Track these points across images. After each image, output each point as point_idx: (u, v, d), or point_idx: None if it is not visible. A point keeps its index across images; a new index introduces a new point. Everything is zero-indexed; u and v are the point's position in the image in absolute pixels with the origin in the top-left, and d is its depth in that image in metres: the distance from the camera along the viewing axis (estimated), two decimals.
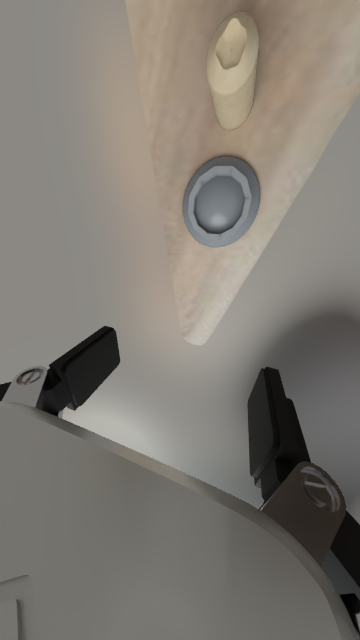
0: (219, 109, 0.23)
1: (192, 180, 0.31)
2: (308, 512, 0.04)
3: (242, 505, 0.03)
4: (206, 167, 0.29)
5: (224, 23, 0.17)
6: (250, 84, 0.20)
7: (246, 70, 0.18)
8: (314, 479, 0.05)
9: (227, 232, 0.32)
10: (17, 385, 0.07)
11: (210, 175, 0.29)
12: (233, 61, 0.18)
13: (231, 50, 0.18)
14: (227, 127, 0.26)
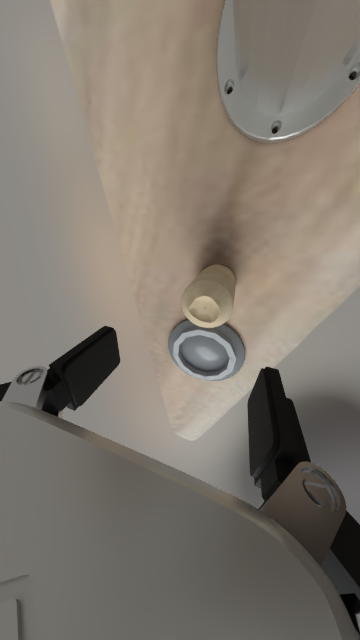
0: None
1: (176, 328, 0.30)
2: (308, 512, 0.04)
3: (242, 505, 0.03)
4: (190, 323, 0.29)
5: (197, 288, 0.17)
6: None
7: (221, 322, 0.18)
8: (314, 479, 0.05)
9: (213, 377, 0.31)
10: (17, 385, 0.07)
11: (194, 334, 0.28)
12: (208, 314, 0.17)
13: (205, 307, 0.17)
14: None
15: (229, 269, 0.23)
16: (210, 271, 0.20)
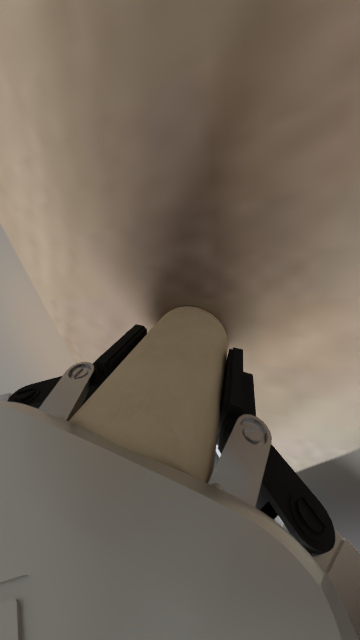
0: None
1: None
2: (239, 445, 0.06)
3: (242, 505, 0.03)
4: None
5: None
6: None
7: None
8: (249, 426, 0.06)
9: None
10: (70, 379, 0.07)
11: None
12: None
13: None
14: None
15: (214, 319, 0.11)
16: (160, 344, 0.08)
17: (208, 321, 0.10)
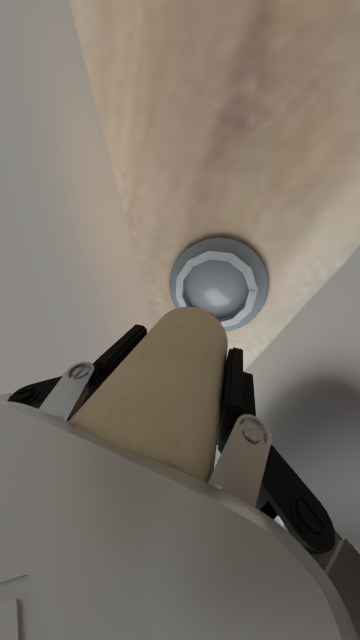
0: None
1: (180, 259, 0.24)
2: (239, 445, 0.06)
3: (242, 505, 0.03)
4: (198, 247, 0.22)
5: None
6: None
7: None
8: (249, 426, 0.06)
9: (226, 322, 0.25)
10: (70, 379, 0.07)
11: (203, 260, 0.22)
12: None
13: None
14: None
15: (214, 319, 0.11)
16: (159, 345, 0.08)
17: (208, 321, 0.10)
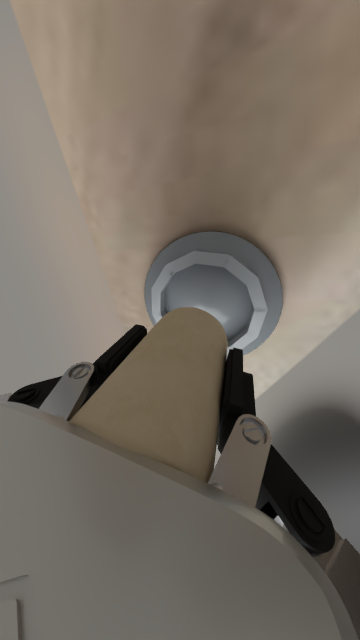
0: None
1: (156, 262, 0.17)
2: (239, 445, 0.06)
3: (242, 505, 0.03)
4: (180, 245, 0.15)
5: None
6: None
7: None
8: (249, 426, 0.06)
9: None
10: (70, 379, 0.07)
11: (186, 265, 0.15)
12: None
13: None
14: None
15: (214, 319, 0.11)
16: (159, 346, 0.08)
17: (208, 322, 0.10)
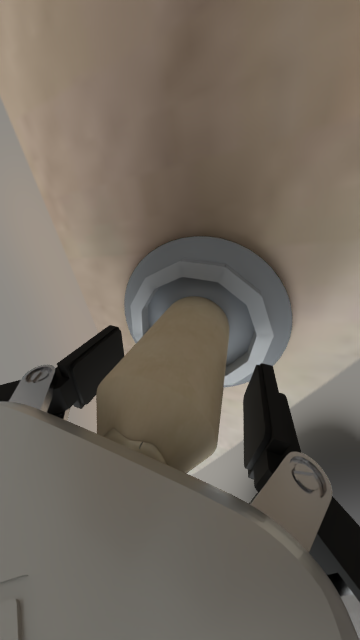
0: None
1: (136, 274, 0.14)
2: (295, 497, 0.05)
3: (242, 505, 0.03)
4: (164, 253, 0.12)
5: (115, 399, 0.06)
6: None
7: None
8: (302, 468, 0.05)
9: None
10: (26, 383, 0.07)
11: (171, 278, 0.12)
12: (153, 452, 0.07)
13: None
14: None
15: (217, 307, 0.12)
16: (172, 324, 0.09)
17: (212, 308, 0.12)
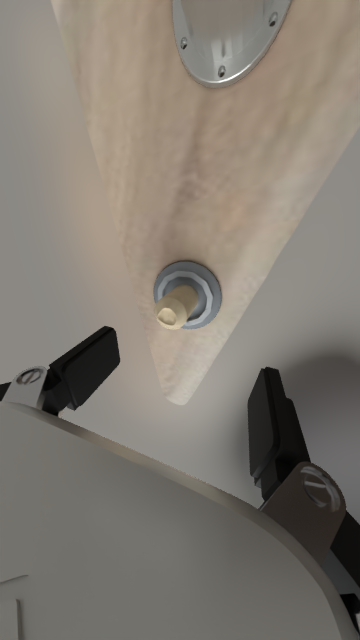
0: None
1: (160, 276, 0.33)
2: (308, 512, 0.04)
3: (242, 505, 0.03)
4: (171, 267, 0.32)
5: (162, 303, 0.25)
6: (187, 318, 0.28)
7: (180, 324, 0.26)
8: (314, 479, 0.05)
9: (194, 321, 0.34)
10: (17, 385, 0.07)
11: (174, 277, 0.31)
12: (171, 320, 0.26)
13: (169, 315, 0.26)
14: None
15: (192, 287, 0.32)
16: (175, 290, 0.28)
17: (190, 287, 0.31)
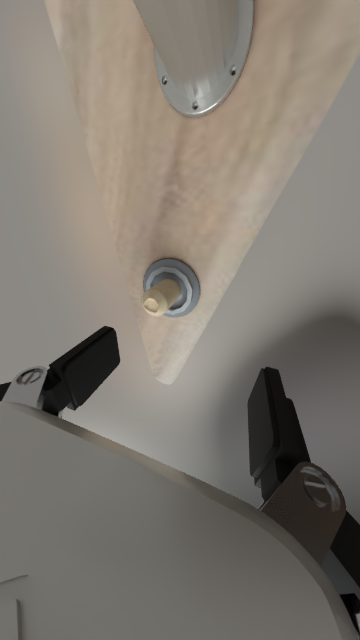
0: None
1: (148, 270, 0.39)
2: (308, 512, 0.04)
3: (242, 505, 0.03)
4: (158, 264, 0.37)
5: (147, 294, 0.31)
6: (169, 307, 0.34)
7: (162, 312, 0.32)
8: (314, 479, 0.05)
9: (177, 310, 0.40)
10: (17, 385, 0.07)
11: (160, 272, 0.37)
12: (154, 308, 0.32)
13: (153, 304, 0.32)
14: None
15: (175, 281, 0.37)
16: (159, 283, 0.34)
17: (173, 281, 0.37)
